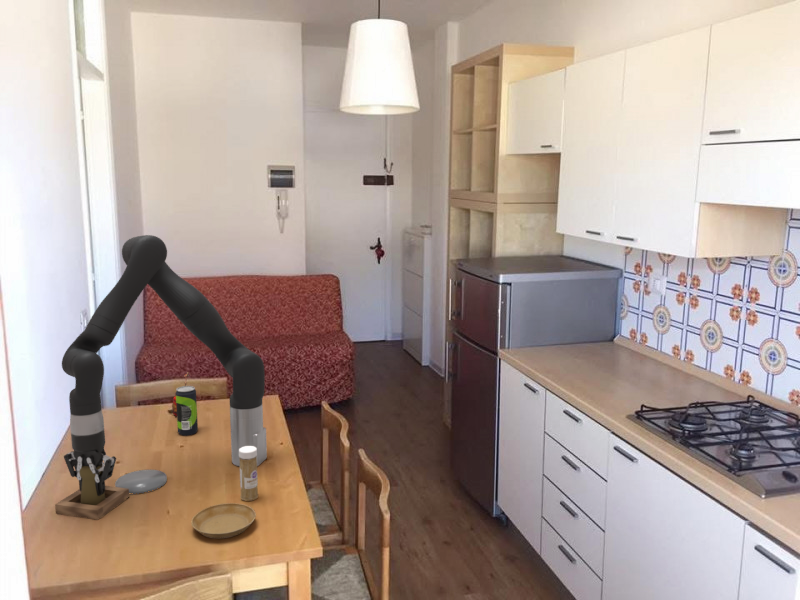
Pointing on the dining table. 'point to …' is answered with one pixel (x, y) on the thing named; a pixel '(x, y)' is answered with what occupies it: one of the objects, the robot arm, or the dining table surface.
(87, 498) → the cork
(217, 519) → the plant saucer
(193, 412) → the beverage can
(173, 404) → the red clay folk toy
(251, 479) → the sprinkles bottle
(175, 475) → the dining table surface
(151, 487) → the slate coaster
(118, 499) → the holder board
